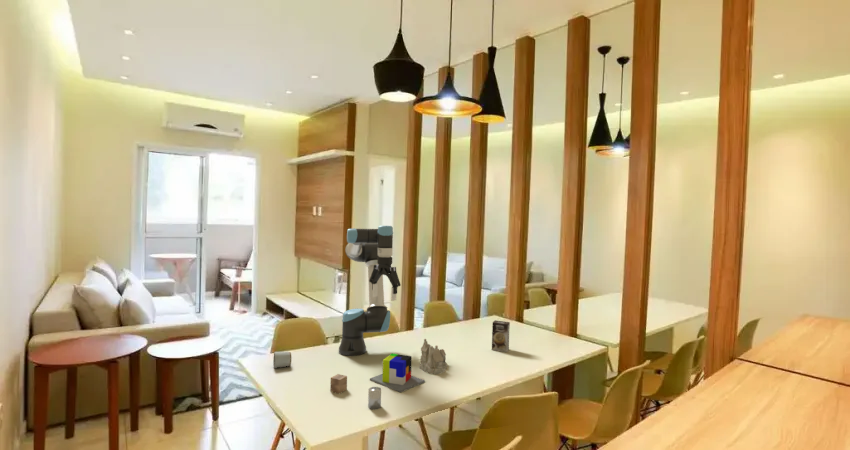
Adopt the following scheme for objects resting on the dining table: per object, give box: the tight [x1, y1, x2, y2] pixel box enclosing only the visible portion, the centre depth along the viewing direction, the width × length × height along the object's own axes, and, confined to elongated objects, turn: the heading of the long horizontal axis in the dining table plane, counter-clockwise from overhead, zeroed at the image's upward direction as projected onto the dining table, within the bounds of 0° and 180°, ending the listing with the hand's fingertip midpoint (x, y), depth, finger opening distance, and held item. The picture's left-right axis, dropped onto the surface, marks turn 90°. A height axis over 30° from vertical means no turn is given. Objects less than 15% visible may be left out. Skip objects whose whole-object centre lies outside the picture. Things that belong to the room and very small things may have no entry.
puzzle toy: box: [382, 353, 412, 385], centre depth 195 cm, size 10×10×10 cm
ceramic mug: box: [272, 351, 292, 369], centre depth 213 cm, size 11×8×8 cm
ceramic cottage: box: [419, 338, 449, 375], centre depth 214 cm, size 16×16×15 cm
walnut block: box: [330, 373, 348, 394], centre depth 184 cm, size 5×5×6 cm
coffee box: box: [491, 320, 511, 353], centre depth 245 cm, size 9×6×16 cm
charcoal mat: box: [369, 373, 426, 393], centre depth 195 cm, size 20×16×1 cm
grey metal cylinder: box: [367, 386, 382, 411], centre depth 169 cm, size 5×5×7 cm
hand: (384, 298), depth 213 cm, fingers open, 13 cm apart
